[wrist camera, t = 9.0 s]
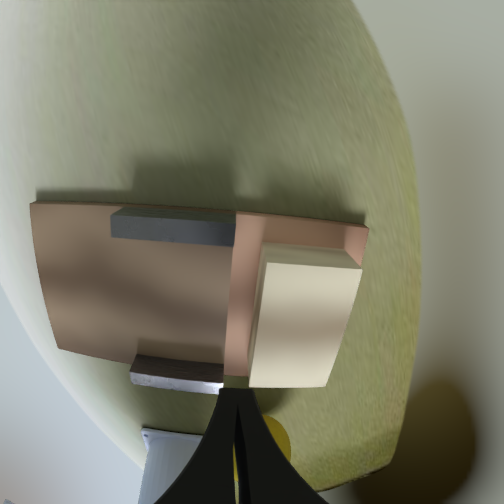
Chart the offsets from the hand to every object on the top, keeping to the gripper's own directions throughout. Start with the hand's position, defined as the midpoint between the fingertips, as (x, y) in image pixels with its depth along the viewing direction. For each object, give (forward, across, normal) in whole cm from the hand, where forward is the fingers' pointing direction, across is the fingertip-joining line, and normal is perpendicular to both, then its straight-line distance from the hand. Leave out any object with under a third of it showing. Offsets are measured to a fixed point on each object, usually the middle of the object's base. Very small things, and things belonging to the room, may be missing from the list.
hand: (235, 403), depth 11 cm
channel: (+8, +3, 0) cm, 9 cm away
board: (+8, +3, 0) cm, 9 cm away
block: (+8, -4, 0) cm, 8 cm away
